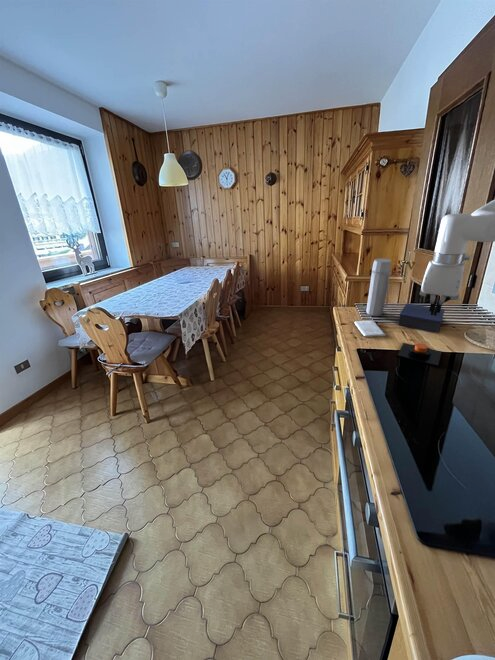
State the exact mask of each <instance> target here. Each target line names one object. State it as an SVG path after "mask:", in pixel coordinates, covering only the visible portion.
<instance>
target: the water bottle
mask: <svg viewBox="0 0 495 660" xmlns="http://www.w3.org/2000/svg"><path fill="white" fill-rule="evenodd" d="M391 266H392V260H391V259H390V258H375V259H374V260H373V263H372V268H371V275H370V276H371V277H370V283H369V289H368V297H367V302H366V303H367V304H366V310H365V311H366V314H367V315H369V316H371V317H372V316H373V317H380V316H382V315H383V313H384V309H385V308H387V305H388V301H389V289H390V278H391V275H392V274H393V272H392V271H391V269H392V267H391Z"/></svg>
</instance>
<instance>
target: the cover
mask: <svg viewBox="0 0 495 660" xmlns="http://www.w3.org/2000/svg"><path fill="white" fill-rule="evenodd" d="M429 309H430V306H425V305H420V304H413V303H406V304H405V305H404V307H403V308H402V310H401V311H400V312H399V315H398V316H399V317H400V316H403V317H409V318H414V319H420V320H425V321H431V322H436V323H441V324H442V322H441V321H443V318H444V315H443V314H445V312H446V309H445V308H441V310H440V313H437V315H436V316H434V314H433V315H431V312H430V311H429ZM434 312H435V311H434ZM442 317H443V318H442Z"/></svg>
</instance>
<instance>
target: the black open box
mask: <svg viewBox="0 0 495 660" xmlns="http://www.w3.org/2000/svg"><path fill="white" fill-rule="evenodd" d="M444 314H445V313H444ZM444 314H443V317H442V319H443V318H444ZM442 321H443V320H442ZM442 321H441V323H436V322H431V321H425V320H420V319H414V318H409V317H403V316H399V317H398V321H397V322H398V323H397V325H398V326H401V327H406V328H411V329H416V330H420V331H425V332H430V333H435V334H439V331H440V328H441V324H442Z"/></svg>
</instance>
